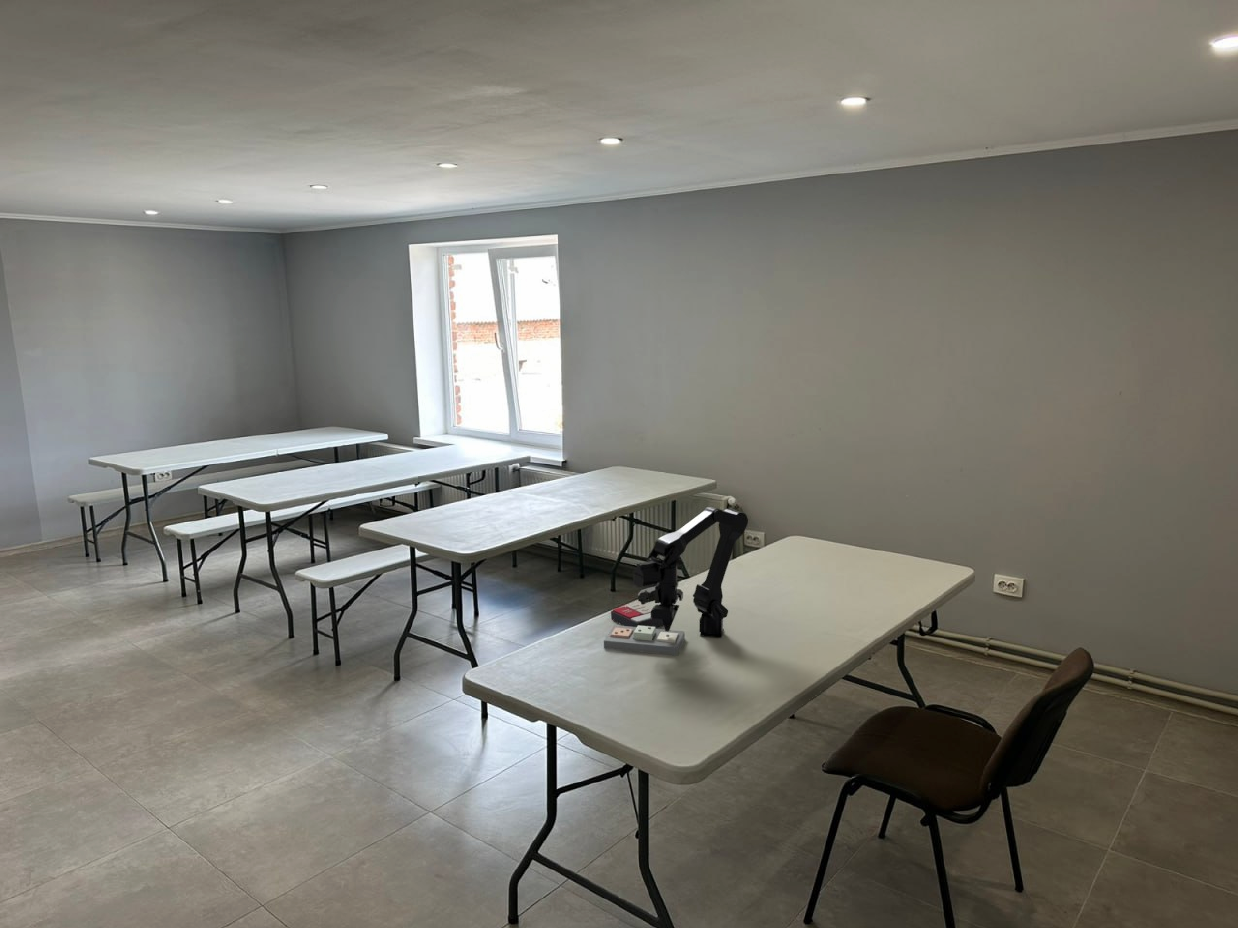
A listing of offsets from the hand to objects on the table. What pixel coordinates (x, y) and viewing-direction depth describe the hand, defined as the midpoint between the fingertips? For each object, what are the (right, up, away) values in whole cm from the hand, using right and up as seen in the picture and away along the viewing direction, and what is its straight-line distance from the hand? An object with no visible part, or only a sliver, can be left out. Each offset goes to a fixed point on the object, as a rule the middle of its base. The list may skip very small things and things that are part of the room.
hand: (667, 630), depth 237 cm
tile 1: (0, -4, +1) cm, 4 cm away
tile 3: (-13, -3, +4) cm, 14 cm away
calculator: (-8, -2, +20) cm, 21 cm away
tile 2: (-7, -2, +2) cm, 7 cm away
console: (-7, -4, +3) cm, 8 cm away
